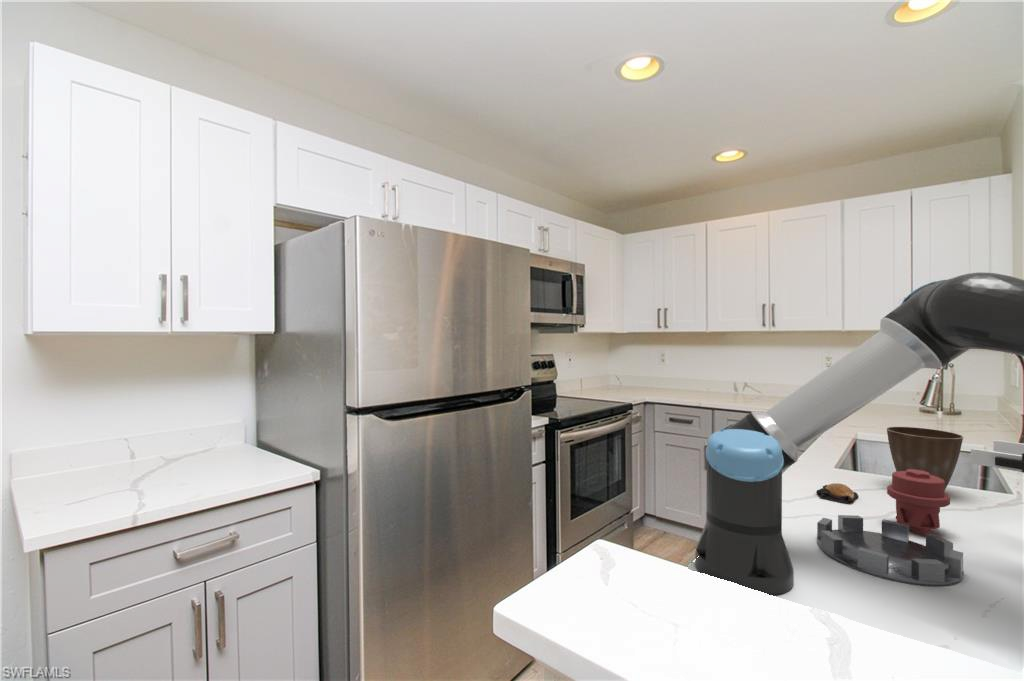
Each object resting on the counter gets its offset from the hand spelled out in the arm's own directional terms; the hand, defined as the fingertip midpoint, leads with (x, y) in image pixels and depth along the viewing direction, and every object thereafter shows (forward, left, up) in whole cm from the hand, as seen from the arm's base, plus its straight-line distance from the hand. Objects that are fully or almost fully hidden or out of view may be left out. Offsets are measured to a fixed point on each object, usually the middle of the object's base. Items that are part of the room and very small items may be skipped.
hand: (982, 451), depth 90 cm
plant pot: (-13, +34, -19) cm, 41 cm away
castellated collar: (-12, -18, -19) cm, 29 cm away
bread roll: (-27, +14, -19) cm, 36 cm away
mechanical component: (-10, +2, -19) cm, 21 cm away
